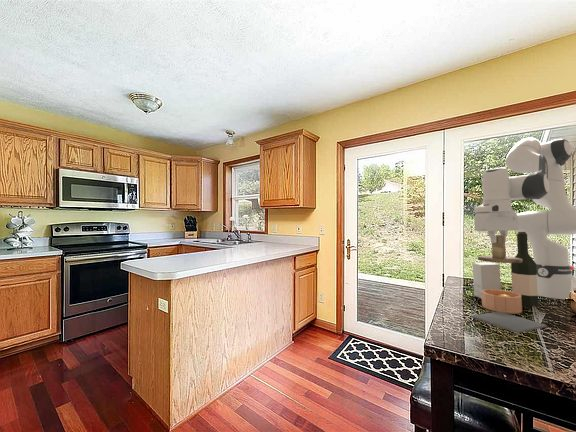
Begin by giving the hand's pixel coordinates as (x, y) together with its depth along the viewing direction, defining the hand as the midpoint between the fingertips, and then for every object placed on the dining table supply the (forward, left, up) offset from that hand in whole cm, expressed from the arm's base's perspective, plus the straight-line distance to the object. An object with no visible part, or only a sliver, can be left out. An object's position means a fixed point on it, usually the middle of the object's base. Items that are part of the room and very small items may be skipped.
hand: (498, 242), depth 101 cm
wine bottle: (-16, -1, -26) cm, 31 cm away
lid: (0, 0, -7) cm, 7 cm away
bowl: (0, 0, -26) cm, 26 cm away
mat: (+13, +10, -26) cm, 31 cm away
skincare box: (-10, -12, -26) cm, 31 cm away
